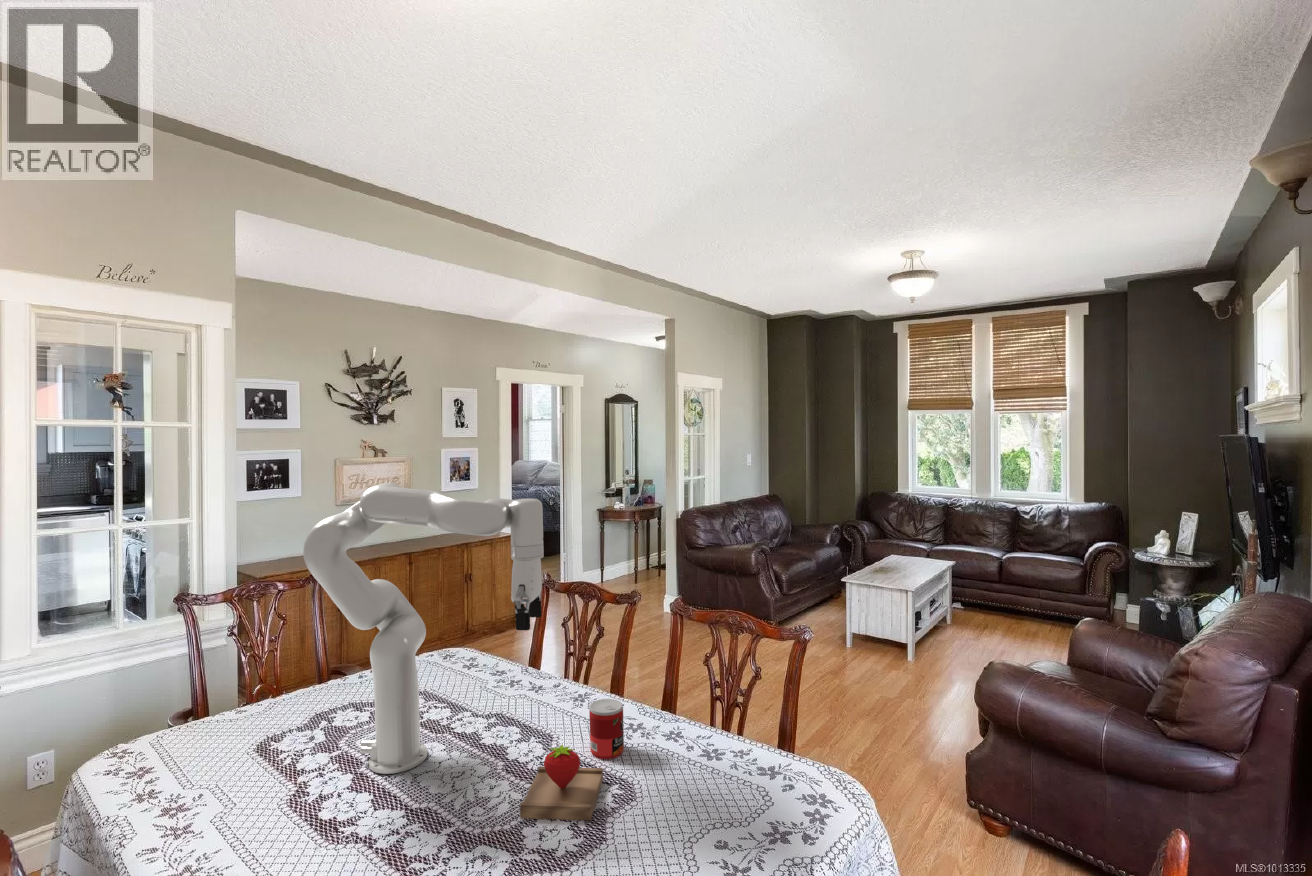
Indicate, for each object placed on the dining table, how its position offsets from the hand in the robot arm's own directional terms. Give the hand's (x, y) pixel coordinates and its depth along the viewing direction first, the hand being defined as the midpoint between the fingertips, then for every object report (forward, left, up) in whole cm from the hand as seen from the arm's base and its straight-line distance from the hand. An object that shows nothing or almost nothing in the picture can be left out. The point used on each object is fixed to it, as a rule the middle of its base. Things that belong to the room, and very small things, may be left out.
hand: (529, 623), depth 150 cm
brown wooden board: (+12, -19, -30) cm, 38 cm away
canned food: (+18, 0, -31) cm, 35 cm away
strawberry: (+12, -19, -28) cm, 36 cm away
